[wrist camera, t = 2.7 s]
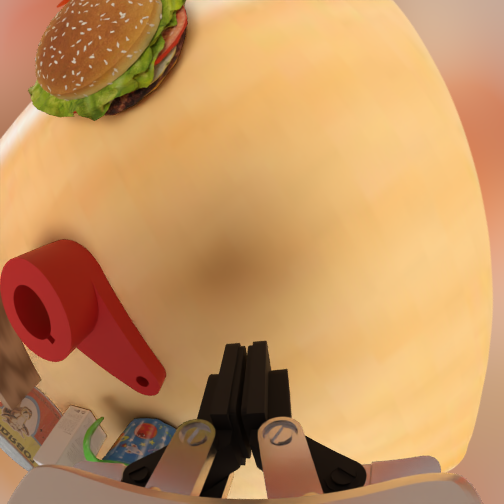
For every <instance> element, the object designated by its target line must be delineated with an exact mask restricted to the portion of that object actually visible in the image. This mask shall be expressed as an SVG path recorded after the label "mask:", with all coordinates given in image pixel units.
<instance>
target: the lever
mask: <svg viewBox="0 0 504 504" xmlns="http://www.w3.org/2000/svg"><path fill="white" fill-rule="evenodd" d="M0 291H1V298H2V302H3V306H4V309H5V312H6V315H7V317H8V319H9V321H10V323H11V325H12V327H13V329H14V330H15V332H16V333H17V335H18V336H19V338H20V339H21V340H22V341H23V343H24V344H25V345H26V346H27V347H28V348H29V349H30V350H31V351H33V352H34V353H35V354H37V355H38V356H40V357H41V358H43V359H45V360H48V361H52V362H59V361H62V360H64V359H65V358H66V357H67V356H68V355H69V354H70V353H71V352H72V351H73V350H74V349H75V348H76V347H77V348H78V349H79V350H80V351H81V352H83V353H84V354H85V355H86V356H88V357H89V358H90V359H92V360H93V361H94V362H95V363H97V364H98V365H99V366H101V367H102V368H103V369H105V370H106V371H108V372H109V373H110V374H112V375H113V376H115V377H116V378H117V379H119V380H120V381H122V382H123V383H125V384H126V385H128V386H129V387H131V388H132V389H134V390H135V391H137V392H139V393H141V394H144V395H148V396H152V395H156V394H158V392H159V391H160V388H161V386H162V384H163V382H164V380H165V378H166V372H165V369H164V367H163V366H162V364H161V363H160V362H159V360H158V359H157V358H156V356H155V355H154V353H153V352H152V350H151V349H150V348H149V346H148V345H147V343H146V342H145V340H144V339H143V337H142V336H141V334H140V333H139V331H138V330H137V328H136V327H135V325H134V324H133V322H132V321H131V319H130V317H129V316H128V314H127V313H126V311H125V309H124V308H123V306H122V304H121V303H120V301H119V299H118V298H117V296H116V294H115V293H114V291H113V289H112V287H111V286H110V284H109V282H108V280H107V278H106V277H105V275H104V273H103V271H102V269H101V267H100V266H99V264H98V262H97V261H96V259H95V258H94V257H93V256H92V254H91V253H90V252H89V251H88V250H87V249H86V248H84V247H83V246H82V245H80V244H78V243H77V242H74V241H71V240H66V239H63V240H58V241H55V242H53V243H50V244H47V245H45V246H42V247H40V248H37V249H35V250H32V251H30V252H27V253H25V254H22V255H20V256H18V257H15V258H13V259H10V260H9V261H8V262H7V263H6V264H5V266H4V267H3V270H2V273H1V279H0Z"/></svg>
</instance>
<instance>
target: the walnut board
mask: <svg viewBox="0 0 504 504" xmlns="http://www.w3.org/2000/svg"><path fill="white" fill-rule="evenodd" d="M40 381H41V379H40V377H39V375H38V373H37V371H36V370H35V368H34V366H33V364H32V362H31V360H30V358H29V356H28V354H27V352H26V350H25V348H24V346H23V343H22V341H21V339H20V338H19V336H18V335H17V333H16V332H15V330H14V329H13V327H12V325H11V323H10V321H9V319H8V317H7V315H6V312H5V309H4V306H3V302H2V298H1V291H0V401H1V403H2V404H3V406H4V407H6V408H8V409H10V410H12V411H13V410H14V409H15V408H16V407H17V406H18V404H19V403H20V402H21V401H22V400H23V399H24V398H25V397H26V396H27V394H28V393H29V392H30V391H31V390H32V389H33V388H34V387H35V386H36V385H37V384H38V383H39V382H40Z"/></svg>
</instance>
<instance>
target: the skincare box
mask: <svg viewBox="0 0 504 504" xmlns="http://www.w3.org/2000/svg"><path fill="white" fill-rule="evenodd" d="M95 421H96V419H95V418H94V416H93V414H92V413H91V411H90V410H86V409H82V408H79V407H75V406H72V405H70V406H69V408H68V409H67V410H66V412H65V413H64V415H63V416H62V417H61V419H60V420H59V421H58V423H57V424H56V426H55V427H54V428H53V430H52V431H51V433H50V434H49V436H48V437H47V438H46V440H45V441H44V443H43V444H42V446H41V447H40V449H39V450H38V452H37V453H36V454H35V456H34V457H33V460H34V461H35V462H36V463H37V464H38V465H39V466H40V465H63V466H69V467H73V466H74V465H75V464H76V463H78V462H80V461H87V460H86V458H85V456H84V452H83V440H84V436H85V434H86V431H87V430H88V428H89V427H90V426H91V425H92V424H93V423H94V422H95ZM105 438H106V434H105V433H104V431H103V430H102V428H101V427H100V425H99V426H98V427H97V429H96V430H95V432H94V434H93V435H92V437H91V444H90V449H91V451H92V452H93V454H94V455H95V456H96V455H97V453H98V451H99V449H100V448H101V446H102V444H103V442H104V440H105Z"/></svg>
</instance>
